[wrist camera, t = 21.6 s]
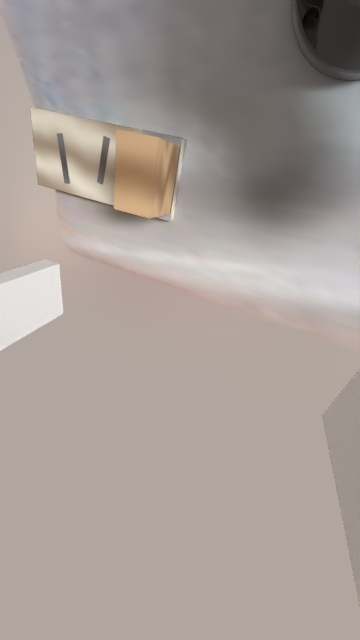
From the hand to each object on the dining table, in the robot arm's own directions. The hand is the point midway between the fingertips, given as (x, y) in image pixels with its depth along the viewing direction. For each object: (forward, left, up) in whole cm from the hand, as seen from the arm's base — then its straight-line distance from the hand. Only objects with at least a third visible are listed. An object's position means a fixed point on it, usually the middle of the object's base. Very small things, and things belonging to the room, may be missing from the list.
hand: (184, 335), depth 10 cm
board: (-4, -24, -29) cm, 37 cm away
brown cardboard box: (-4, -14, -27) cm, 31 cm away
